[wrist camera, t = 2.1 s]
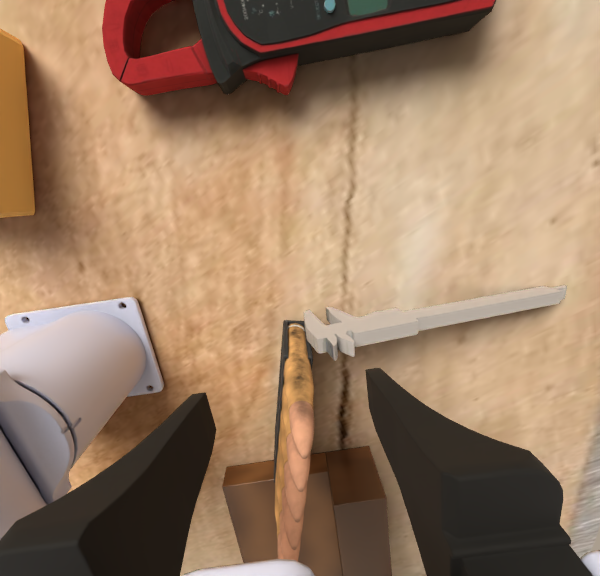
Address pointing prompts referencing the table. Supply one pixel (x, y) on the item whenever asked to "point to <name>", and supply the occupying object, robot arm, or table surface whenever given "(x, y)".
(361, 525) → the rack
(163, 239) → the table surface
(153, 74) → the digital clamp meter
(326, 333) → the caliper
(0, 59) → the rubber stamp
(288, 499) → the ammunition clip
